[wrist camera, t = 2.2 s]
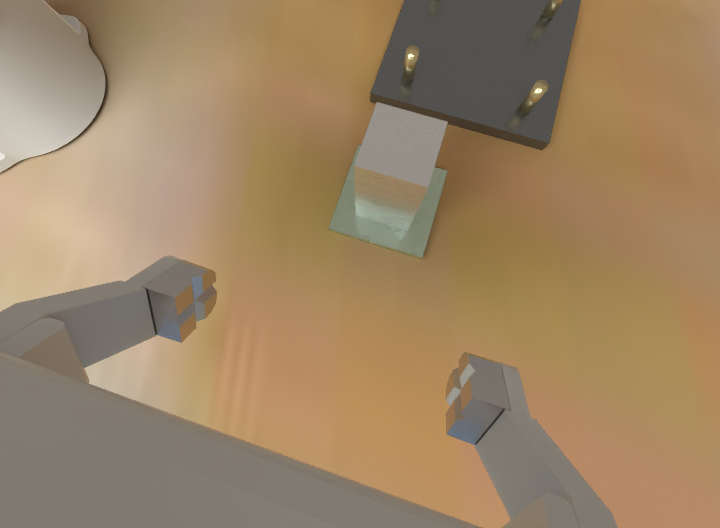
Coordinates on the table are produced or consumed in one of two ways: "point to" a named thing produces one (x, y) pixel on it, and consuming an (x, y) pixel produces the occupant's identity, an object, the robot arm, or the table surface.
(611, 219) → the table surface
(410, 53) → the mounting plate
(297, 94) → the table surface
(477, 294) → the table surface
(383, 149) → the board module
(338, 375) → the table surface
